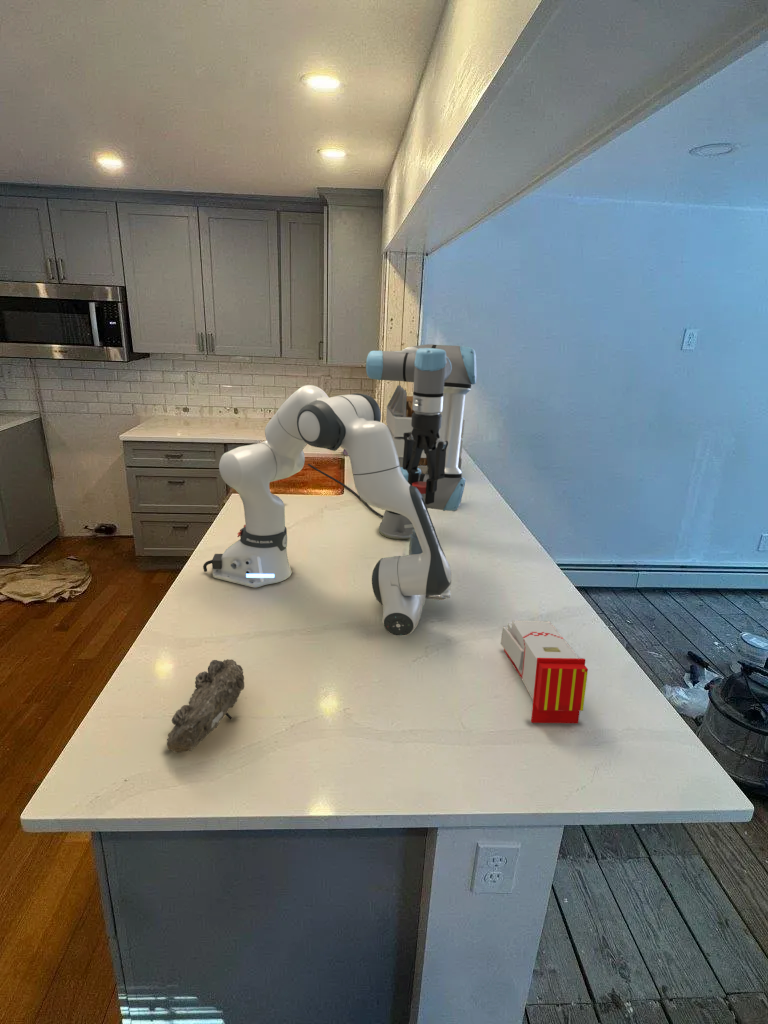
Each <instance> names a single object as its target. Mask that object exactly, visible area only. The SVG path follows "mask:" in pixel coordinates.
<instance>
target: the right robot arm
mask: <svg viewBox="0 0 768 1024" xmlns="http://www.w3.org/2000/svg"><path fill="white" fill-rule="evenodd" d="M477 368H478V367H477V354H476V351H475V349H474V348H473V347H470V346H464V345H451V344H450V345H449V344H432V343H429V344H419V345H413V346H408V347H405V348H403V349H401V350H382V349H381V350H370V351H369V352H368V353H367V357H366V363H365V372H366V376H367V377H368V378H369V379H370V380H378V381H390V382H391V381H392V382H405V383H413V393H412V394H413V395H412V396H413V408H412V410H413V411H415V412H413V413H412V422H411V426H412V427H413V430H412V432H407V433H404V434H403V436H404V455H403V467H401V471H402V474H403V476H404V478H405V479H406V481H407V482H408V483H409V484H410V485H412V483H413V482H419V481H421V482H426V494H421V495H422V497H423V500H424V502H425V505H426V507H427V509H430V510H431V509H432V510H440V511H443V512H445V511H447V512H455V511H457V510H458V509H459V508H460V504H461V501H462V498H463V494H464V491H465V486H466V478H465V477H463V476H462V475H463V472H462V469H461V470H460V469H459V468H458V462H459V452H460V443H461V440H462V438H461V433H462V423H463V419H464V412H465V403H466V395H467V394H468V393H469V392H470V391H471V390H472V385H473V386H474V385H476V384H477V375H478V374H477V373H478V372H477ZM431 449H432V450H431ZM423 450H424V453H425V454H426V458H427V466H426V467H427V472H426V473H422V469H421V468H420V467H419V466H418V465H419V461H420V458H421V454H422V451H423ZM407 463H408V464H407ZM307 466H309V467H310V468H312V469H313V470H314V471H317V472H318V473H320V474H321V475H324V476H325V477H327V478H329V479H330V480H332V481H334V482H336V483H338V484H339V485H340V486H342V487H344V488H345V489H346V490H348V491H349V492H351V493H352V494H353V495H354V496H356V497H357V498H358V499H359V500H360V502H362V504H364V505H365V507H367V508H368V509H369V511H371V512H372V513H374V515H376V516H378V517H380V518H381V522H379V526H378V533H379V534H380V535H381V536H382V537H385V538H387V539H389V540H395V541H410V534H412V530H413V529H414V526H413V524H412V523H411V521H410V520H409V519H408V518H407V517H405V516H403V515H401V514H398V513H395V512H392V511H387V510H384V513H383V515H382V514H381V513H379V512H378V511H376V510H375V509H374V508H373V507H372V506H371V505H369V504H368V503H366V502H365V501H363V500H362V499H361V497H360V496H359V495H358V493H357V492H356V491H354V490H353V489H352V488H350V487H349V486H348V485H346V484H344V482H341V481H340V480H338V479H336V478H335V477H333V476H331V475H329V474H328V473H326V472H324V471H322V470H320V469H318V468H317V467H315V466H313V465H312V464H310V463H308V464H307Z"/></svg>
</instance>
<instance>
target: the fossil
mask: <svg viewBox="0 0 768 1024" xmlns="http://www.w3.org/2000/svg"><path fill="white" fill-rule="evenodd" d="M243 670H244V669H243V667H242V665H240V664H237V662H236V661H235V660H234V659H232V658H231V659H227V658H226V659H224V660H223V661H222V660H217V659H212V660H211V661H210V663H209V665H208V666H207V671H201V672H199V673H198V674H197V675H196V676H195V680H194V684H195V685H194V687H195V689H194V690H193V693H192V694H191V697H190V698H189V700H188V704H184V705H182V706H181V707H180V709H177V710H176V711H175V713H174V715H173V716H172V718H171V723H172V724H173V727H172V730H171V731H170V732H168V734H167V738H166V741H167V742H166V745H167V749H168V750H169V751H173V752H174V753H176V754H178V753H182V752H188V751H189V752H192V751H193V750H195V748H196V747H197V746H199V744H200V743H201V742H203V741H204V740H205V739H206V738H207V737H208V736H209V735H210V734H211V733H212V732H214V730H215V729H217V727H218V726H219V724H220V722H221V721H222V720H223V719H224V718H225V716H226V717H227V719H229V720H233V717H232V715H230V714H229V710H230V709H231V708H234V706H235V704H236V703H237V702H238V699H239V697H240V695H241V693H242V691H243V690H245V689H244V688H245V675H244V671H243Z"/></svg>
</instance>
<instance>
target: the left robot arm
mask: <svg viewBox="0 0 768 1024" xmlns="http://www.w3.org/2000/svg"><path fill="white" fill-rule="evenodd" d="M381 419H382V412H381V409H380V406H379V404H378V402H377V401H376V399H374V397H372V396H370V395H368V394H365V393H357V392H355V393H350V394H339V395H334V396H330V397H329V396H328V394H327V393H326V392H325V390H323V389H322V388H320V387H319V386H316V385H313V384H305V385H303V386H300V387H299V388H298V389H296V390H295V391H294V392H293V393H292V394H290V395H289V396H288V397H287V398H286V400H285V401H284V402H283V403H281V405H280V406H279V408H278V409H277V410H276V412H275V413H274V414H273V415H272V417H271V419H269V421H268V422H267V424H265V425H266V426H265V428H264V436H265V437H264V438H265V440H263V441H262V442H258V443H252V444H247V445H242V446H238V447H235V448H233V449H231V450H228V451H226V452H224V453H222V455H221V457H220V459H219V464H218V472H219V475H220V477H221V479H222V481H223V482H224V483H225V484H226V485H227V486H228V487H230V488H232V489H233V490H235V491H236V492H237V494H238V495H239V497H240V500H241V501H242V505H243V509H244V510H243V511H244V523H245V524H244V525H243V527H242V528H240V530H239V531H238V533H237V538H240V539H238V540H237V541H235V542H234V543H233V544H231V545H229V546H228V547H227V548H226V549H225V550H224V551H223V552H222V553H214V554H213V557H212V559H210V560H207V561H205V562H204V564H203V565H202V569H203V572H204V573H208V567H207V566H209V565H210V564H211V569H212V578H215V579H218V580H222V581H225V582H226V581H227V582H230V583H234V584H238V585H242V586H246V587H250V588H255V589H256V588H260V587H263V586H266V585H272V584H277V583H280V582H283V581H285V580H287V579H288V578H290V577H291V575H292V573H293V572H292V568H291V565H290V562H289V557H288V550H287V547H288V530H287V529H288V528H287V527H286V505H285V502H284V500H283V499H281V498H280V496H278V495H277V494H274V493H272V492H271V489H270V488H271V487H270V483H272V482H276V481H281V480H285V479H288V478H290V477H292V476H294V475H296V474H297V473H299V472H301V471H302V470H303V468H304V466H305V462H306V461H305V460H306V457H305V452H304V449H305V448H306V447H307V445H308V446H311V447H313V448H318V449H319V448H320V449H326V450H329V451H333V452H336V451H337V450H338V449H339V448H342V449H343V450H344V449H345V450H346V451H347V453H348V455H347V456H348V457H349V461H350V466H351V472H352V477H353V482H354V486H355V490H356V493H357V494H358V495H359V496H360V497H361V499H362V500H363V501H365V502H366V503H367V504H368V505H369V506H370V507H372V508H375V509H379V510H383V511H385V510H387V511H392V512H395V513H398V514H401V515H403V516H405V517H407V518H408V519H409V520H410V521H411V523H412V524H413V526H414V529H415V532H416V535H417V537H418V540H419V543H420V545H421V548H422V551H423V553H421V554H414V555H409V554H407V555H393V556H388V557H381V558H380V559H379V560H378V561H377V562H376V564H375V566H374V568H373V570H372V574H371V586H372V591H373V594H374V597H375V600H376V602H378V603H379V604H380V605H381V606H382V625H383V627H384V629H385V630H386V632H388V633H389V634H391V635H392V636H396V637H404V636H408V635H410V634H412V633H413V632H414V631H415V630H416V628H417V626H418V624H419V623H420V619H421V616H422V613H423V609H424V606H425V603H426V599H428V600H436V601H444V600H447V599H450V597H451V594H452V592H451V590H452V589H451V588H452V569H451V565H450V562H449V561H448V558H447V556H446V554H445V552H444V550H443V548H442V545H441V543H440V539H439V538H438V537H439V536H438V535H437V532H436V531H437V530H436V528H435V525H434V523H433V520H432V518H431V514H430V512H429V509H428V508H427V507H426V505H425V502H424V500H423V497H422V495H421V493H420V492H419V490H418V489H417V487H414V486H412V485H410V484H409V483H408V482H407V481H406V479H405V478H404V476H403V474H402V471H401V468H400V463H399V458H398V454H397V450H396V447H395V444H394V441H393V438H392V435H391V433H390V430H389V428H388V427H387V424H385V423H384V422H383V421H381Z"/></svg>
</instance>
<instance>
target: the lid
mask: <svg viewBox="0 0 768 1024" xmlns="http://www.w3.org/2000/svg"><path fill="white" fill-rule="evenodd" d="M412 486H414V487H417V489H418V490H419V492H420V493H421V494H426V482H421V481H419V482H413V483H412Z"/></svg>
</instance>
